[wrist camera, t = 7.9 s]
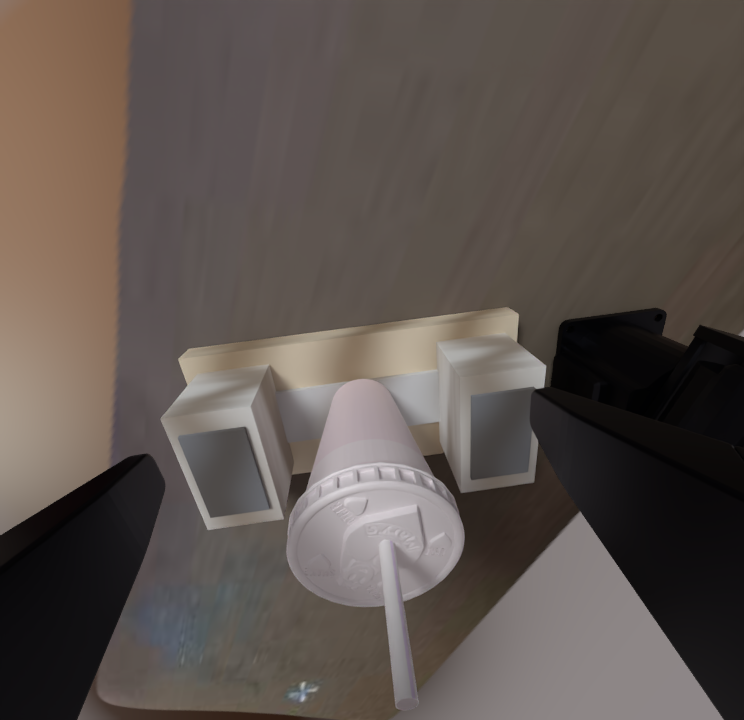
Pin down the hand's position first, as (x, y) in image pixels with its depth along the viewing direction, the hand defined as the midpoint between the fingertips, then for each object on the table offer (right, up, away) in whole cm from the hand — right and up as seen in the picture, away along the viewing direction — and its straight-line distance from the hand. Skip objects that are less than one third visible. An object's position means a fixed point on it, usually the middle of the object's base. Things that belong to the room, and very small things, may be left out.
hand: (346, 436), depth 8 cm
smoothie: (0, -1, +13) cm, 13 cm away
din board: (0, 0, +14) cm, 15 cm away
